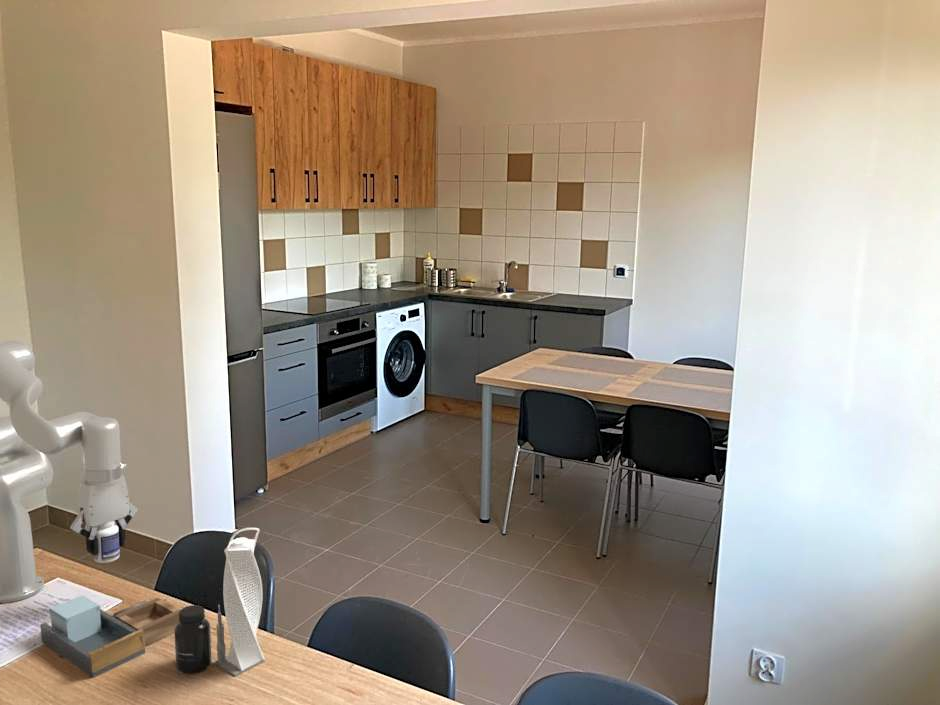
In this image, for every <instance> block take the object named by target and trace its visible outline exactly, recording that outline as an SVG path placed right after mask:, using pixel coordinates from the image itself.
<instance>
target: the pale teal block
mask: <svg viewBox="0 0 940 705" xmlns="http://www.w3.org/2000/svg"><path fill="white" fill-rule="evenodd" d="M100 609H101V605H100V604H98V603H96V602H95V601H94V600H92V599H90V598H88V597H86V596H85V595H80V596H77V597H75V598H72V599H70V600H68V601H65V602H62V603H59V604H57V605H55V606H51V607H50V608H49V611H48V612H49V613H50V624H51V625H50V626H51V627H52V628H54V629H55V630H57V631H58V632H60V633H61V634H63V635H64V636H66V637H67V638H69V639H70V640H72V641H73V642H77V641H79V640H82V639H84V638H86V637H89V636H91V635H93V634H95V633H98V632H100V631H101V619H100Z"/></svg>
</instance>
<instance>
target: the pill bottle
mask: <svg viewBox="0 0 940 705" xmlns="http://www.w3.org/2000/svg"><path fill="white" fill-rule="evenodd" d="M95 538H97V540H98V555H96V556H94V555H93V560H94V561H95V562H96V563H99V564H101V563H102V564H105V563H113V562H115V561H116V560H118V559H119V558H120V555H121V551H120V548H121V547H120V546H119V528H118V526H117V525H116V524H115V521H111V522H108V523H105V524H102V525H99V526H98V527H97V531H96V535H95Z"/></svg>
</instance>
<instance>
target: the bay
mask: <svg viewBox="0 0 940 705" xmlns="http://www.w3.org/2000/svg"><path fill="white" fill-rule="evenodd" d="M100 619H101V631H100V632H98V633H95V634H93V635H91V636H89V637H86V638H84V639H82V640H79V641H77V642H73V641H72V640H70V639H69V638H67V637H66V636H64V635H63V634H61V633H60V632H58V631H57V630H55V629H54V628H52V625H50V624H48V623H46V622H43V623H41V624H40V627H39V628H40V636H41V643H43V644H45V645H46V646H47V647H49V648H50V649H51V650H53V651H54V652H56V653H57V654H58V655H60V656H61V657H63V658H64V659H66V660H67V661H68V662H70V663H71V664H72V665H74V666H76V667H77V668H78V669H80V670H81V671H82V672H84V673H85V674H87V675H88V676H90V677H91V678H96V677H98V676H100V675H102V674H104V673H106V672H108V671H110V670H113V669H114V668H117V667H119V666H121V665H122V664H125V663H126V662H129V661H131V660H133V659H135V658H137V657H139V656H141V655H144V654H145V653H146V647H145V642H144V630H142V629H140V630H138V631H136V630H135V629H133V628H131V627H130V626H128V625H126V624H125V623H123V622H121V621H120V620H118V619H116V618H115V617H113V615H112V614H109V613H108V612H107V611H104V610H102V609H101V608H100Z"/></svg>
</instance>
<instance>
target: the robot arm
mask: <svg viewBox="0 0 940 705" xmlns="http://www.w3.org/2000/svg"><path fill="white" fill-rule="evenodd" d="M35 364H36V356H35V354H34V352H33V350H32V349H31V347H30V346H28V344H26V343H24V342H22V341H19V340H8V341H3V342H0V401H2V402H3V403H5V405H7V406H8V407H9V416H7V415H6V416H0V460H1V459H3V458H7V459H8V460H6V461H4V462H0V604H7V603H13V602H18V601H21V600H24V599H27V598H29V597H32V596H34V595H36V594H37V593H38V592H40V591H41V590H43V588H44V587H45V586H44V585H45V582H44V578H43V577H42V576H41V575H40V576H39V575H37V573H36V565H35V555H34V554H35V553H34V544H33V534H32V533H33V532H32V524H31V518H30V514H29V512H28V511H27V509H25V507H23V505H22V504H21V502H20V501H21V500H23V499H24V498H26V497H29V496H31V495H33V494H36V493H39V492H41V491H42V490H44V489H46V488H48V487H49V486H50V485H51V483H53V480H54V468H53V466H52V463H51V461H50V459H49V458H48V456H56V455H60V454H63V453H65V452H68V451H70V450H73V449H76V448H80V447H82V461H83V462H82V463H83V464H82V466H83V479H82V480H81V481H79V482H80V483H79V487H78V494H77V508H76V510H77V512H76V514H77V516H76V518H75V519H74V520H73V522H72V523H71V525H70V527H69V529H70V530H72V531H74V532H75V533H77V534H80V535H82V536H83V537H85V541H86V542H85V544H86V552H88V553H89V554H90V555H92V556H93V557H94V556H96V555H98V540H97V538H95V535H96V531H97V527H98V526H99V525H102V524H105V523H108V522H111V521H115V524H116V525H117V526H118V528H119V547H120V548H122V547H124V546H125V541H126V529H127V527H128V525H129V523H130V521H131V520H132V519H133V517H134V516H135V514H136V513H137V512H138V507H137V506H135V505H134V504H132V502H130V497H129V490H128V485H127V482H126V478H125V476H124V474H123V470H125V469H127V463H126V462H122V458H121V456H122V454H121V453H122V452H121V433H120V431H121V430H120V423H119V422H118V420H117V419H115V418H113V417H107V416H102V417H101V416H98V415H96V414H94V413H91V412H88V411H76V412H73V413H70V414H67V415H64V416H60V417H56V418H54V419H50V420H47V419H45V418H43V416H41V415H40V414H39V413H37V412H36V411H35V410H34V409H33V408H32V406H33V405H34V404H35V403H36V402H37V400H38V399H39V398H40V396H41V395H42V392H43V387H44V385H43V382H42V380H41V378H39V377H38V376H37V375H35V374H34V373H32V372H31V371H32V370H34V367H35ZM84 523H85V527H84V528H83V527H82V525H83V524H84Z"/></svg>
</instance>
